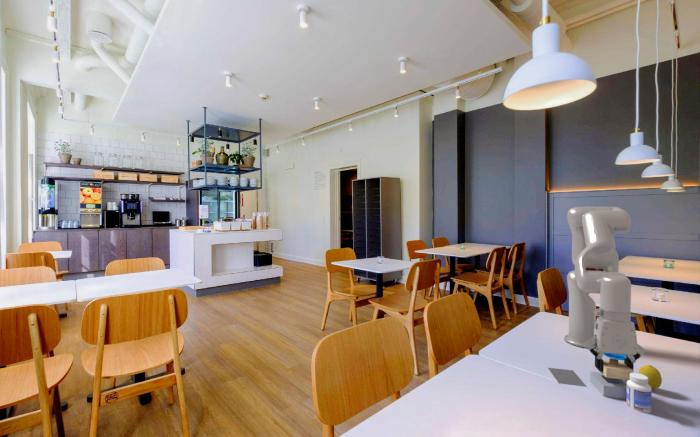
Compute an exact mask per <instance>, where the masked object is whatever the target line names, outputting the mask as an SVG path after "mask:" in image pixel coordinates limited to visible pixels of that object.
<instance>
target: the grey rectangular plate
mask: <svg viewBox="0 0 700 437" xmlns="http://www.w3.org/2000/svg"><path fill="white" fill-rule="evenodd" d="M547 368H548V370H549V372H550V373H551V375H552V376H553V377H554V379H555V380H556V381H557V383H558V384H561V385H562V384H563V385H570V386H578V387H584V388H585V387H587V385H586V384H585V383H584V382H583V380H582V379H581V378H580V377H579V376H578V375H577V373H576V372H575V371H574V370H572V369H564V368H563V369H562V368H555V367H554V368H553V367H547Z"/></svg>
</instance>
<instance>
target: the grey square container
mask: <svg viewBox="0 0 700 437" xmlns="http://www.w3.org/2000/svg"><path fill="white" fill-rule="evenodd" d="M589 373H590V374H589V375H590V378H589V382H590V383H591V385H592V386H593V387H594V388H595V389H596V390H597V391H598V392H599V393H600V394H601V395H602V397H603V398H604V397H605V398H613V399H620V400H626V398H627V381H628V380H624V379H615V378H607V377H605V376H604V375H603V374H602V373H601V372H600V371H590V372H589Z"/></svg>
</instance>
